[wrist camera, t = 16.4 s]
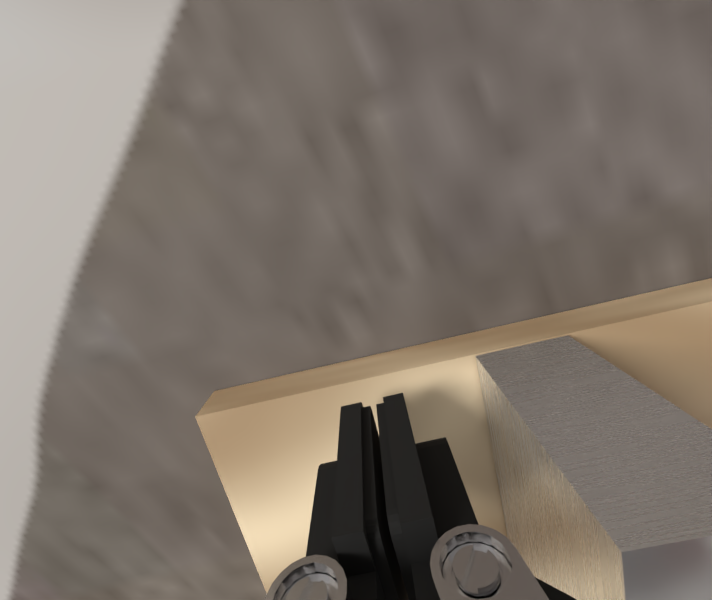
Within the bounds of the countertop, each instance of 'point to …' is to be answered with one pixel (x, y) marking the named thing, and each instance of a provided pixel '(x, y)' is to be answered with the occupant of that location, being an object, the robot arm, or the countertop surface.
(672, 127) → the countertop surface
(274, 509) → the vise base
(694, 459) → the vise jaw
